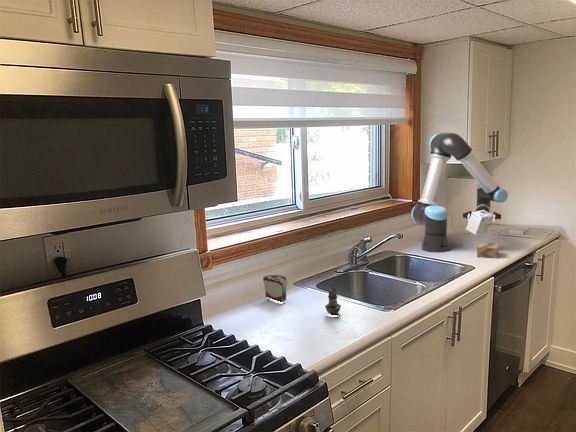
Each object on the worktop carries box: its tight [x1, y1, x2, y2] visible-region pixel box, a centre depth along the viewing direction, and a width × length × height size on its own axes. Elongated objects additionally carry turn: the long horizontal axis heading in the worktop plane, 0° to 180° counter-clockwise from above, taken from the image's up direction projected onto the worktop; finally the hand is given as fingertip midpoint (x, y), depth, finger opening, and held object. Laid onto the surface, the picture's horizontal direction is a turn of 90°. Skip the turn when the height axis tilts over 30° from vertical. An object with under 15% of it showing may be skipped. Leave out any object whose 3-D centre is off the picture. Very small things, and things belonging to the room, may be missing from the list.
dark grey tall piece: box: [324, 284, 342, 316], centre depth 173 cm, size 6×6×12 cm
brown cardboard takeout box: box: [476, 242, 499, 259], centre depth 243 cm, size 10×10×5 cm
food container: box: [262, 274, 289, 302], centre depth 191 cm, size 12×6×10 cm, turn 44°
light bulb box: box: [465, 210, 493, 236], centre depth 251 cm, size 11×7×11 cm, turn 125°
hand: (481, 218), depth 248 cm, fingers closed on light bulb box, 12 cm apart
